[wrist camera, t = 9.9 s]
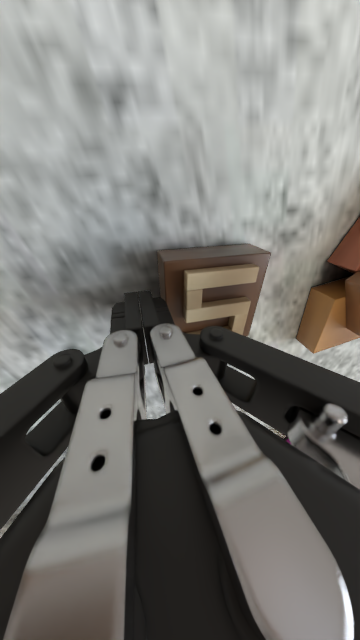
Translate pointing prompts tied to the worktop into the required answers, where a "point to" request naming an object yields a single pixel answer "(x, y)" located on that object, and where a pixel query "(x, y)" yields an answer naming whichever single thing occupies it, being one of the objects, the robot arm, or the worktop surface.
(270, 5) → the worktop surface
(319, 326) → the letter pile
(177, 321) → the letter S
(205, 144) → the worktop surface
